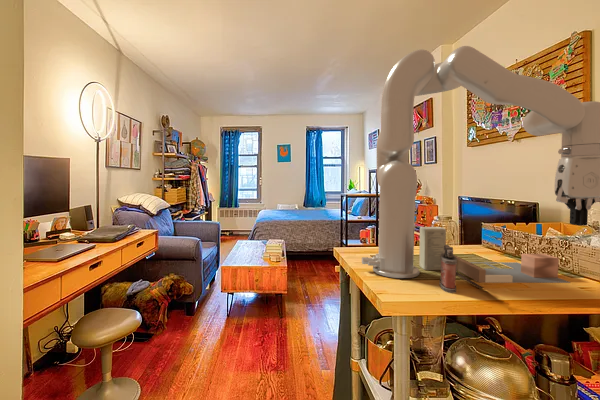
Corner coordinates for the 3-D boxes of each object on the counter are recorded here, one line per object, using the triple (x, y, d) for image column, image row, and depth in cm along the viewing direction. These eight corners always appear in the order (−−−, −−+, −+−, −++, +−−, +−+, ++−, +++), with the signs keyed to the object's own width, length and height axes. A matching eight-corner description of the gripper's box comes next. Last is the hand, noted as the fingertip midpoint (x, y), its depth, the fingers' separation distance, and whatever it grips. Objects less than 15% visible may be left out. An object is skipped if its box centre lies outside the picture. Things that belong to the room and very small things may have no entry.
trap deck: (478, 288, 72) (479, 270, 72) (443, 267, 90) (443, 252, 90) (570, 288, 72) (571, 270, 71) (516, 267, 90) (517, 252, 89)
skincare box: (438, 266, 91) (440, 226, 90) (445, 270, 87) (447, 228, 86) (418, 266, 91) (419, 226, 90) (424, 270, 87) (425, 228, 86)
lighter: (458, 293, 69) (460, 250, 68) (442, 292, 70) (443, 249, 69) (452, 282, 76) (453, 243, 76) (437, 281, 77) (438, 242, 77)
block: (533, 277, 75) (534, 258, 75) (520, 272, 80) (521, 253, 79) (557, 277, 75) (558, 258, 75) (543, 272, 80) (544, 253, 79)
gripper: (564, 152, 72) (561, 227, 73) (626, 150, 72) (623, 226, 73) (539, 154, 79) (537, 223, 80) (596, 153, 79) (593, 222, 80)
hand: (578, 224), depth 77 cm, fingers closed
